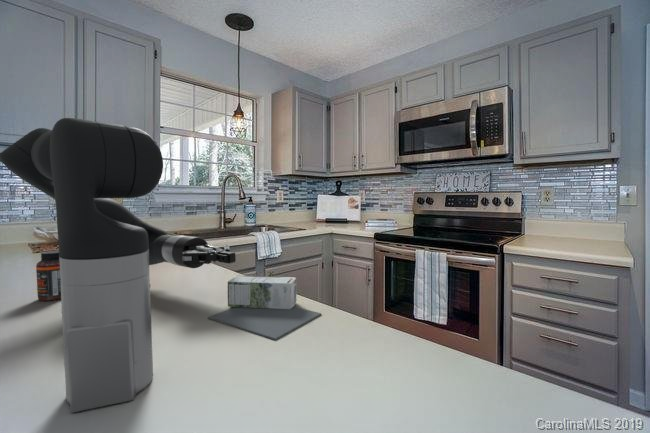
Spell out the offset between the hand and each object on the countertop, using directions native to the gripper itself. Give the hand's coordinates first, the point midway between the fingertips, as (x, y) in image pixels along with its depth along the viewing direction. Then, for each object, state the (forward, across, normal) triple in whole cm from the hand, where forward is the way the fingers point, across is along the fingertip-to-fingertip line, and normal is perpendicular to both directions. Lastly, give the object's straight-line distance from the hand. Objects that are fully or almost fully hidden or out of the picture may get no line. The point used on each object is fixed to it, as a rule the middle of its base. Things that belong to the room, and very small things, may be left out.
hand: (232, 258), depth 69 cm
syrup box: (-2, +1, +8) cm, 8 cm away
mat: (+10, 0, +11) cm, 15 cm away
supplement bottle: (-42, -19, +11) cm, 47 cm away
